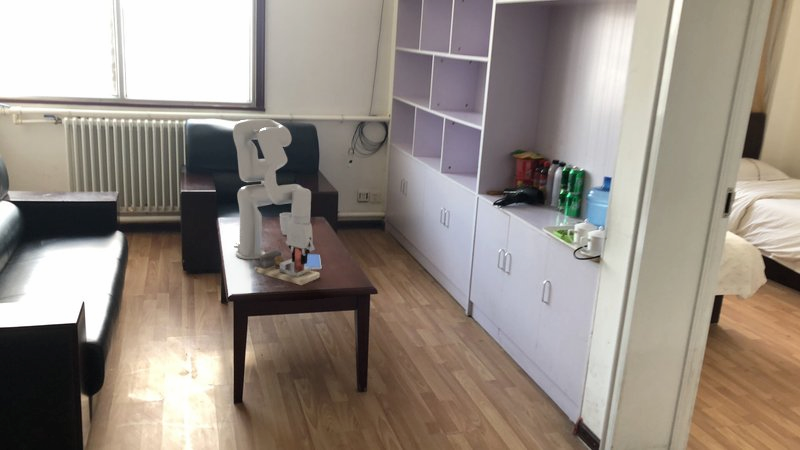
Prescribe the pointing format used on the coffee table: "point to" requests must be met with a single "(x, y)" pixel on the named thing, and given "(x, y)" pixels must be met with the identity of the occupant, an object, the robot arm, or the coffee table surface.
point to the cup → (284, 222)
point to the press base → (272, 268)
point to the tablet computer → (313, 261)
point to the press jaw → (294, 265)
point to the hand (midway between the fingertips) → (299, 262)
